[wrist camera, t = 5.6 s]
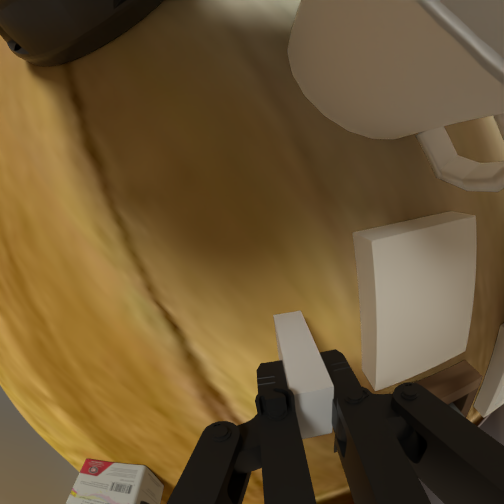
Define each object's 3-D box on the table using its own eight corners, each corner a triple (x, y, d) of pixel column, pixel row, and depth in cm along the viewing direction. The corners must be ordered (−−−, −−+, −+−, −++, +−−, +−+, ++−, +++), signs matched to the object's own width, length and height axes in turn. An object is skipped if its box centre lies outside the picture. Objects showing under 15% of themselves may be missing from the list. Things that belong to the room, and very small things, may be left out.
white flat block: (360, 366, 18) (375, 391, 15) (350, 231, 16) (371, 240, 13) (444, 333, 18) (465, 350, 15) (447, 210, 16) (475, 215, 13)
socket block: (392, 435, 20) (403, 455, 17) (405, 385, 18) (421, 407, 15) (448, 410, 20) (461, 427, 17) (464, 359, 18) (482, 376, 15)
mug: (473, 147, 14) (587, 142, 4) (382, 219, 15) (528, 264, 5) (369, -6, 12) (434, -87, 1) (252, 34, 13) (262, -103, 2)
